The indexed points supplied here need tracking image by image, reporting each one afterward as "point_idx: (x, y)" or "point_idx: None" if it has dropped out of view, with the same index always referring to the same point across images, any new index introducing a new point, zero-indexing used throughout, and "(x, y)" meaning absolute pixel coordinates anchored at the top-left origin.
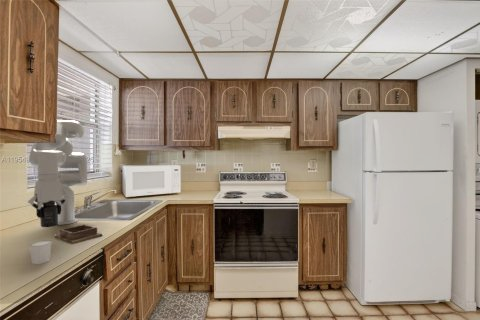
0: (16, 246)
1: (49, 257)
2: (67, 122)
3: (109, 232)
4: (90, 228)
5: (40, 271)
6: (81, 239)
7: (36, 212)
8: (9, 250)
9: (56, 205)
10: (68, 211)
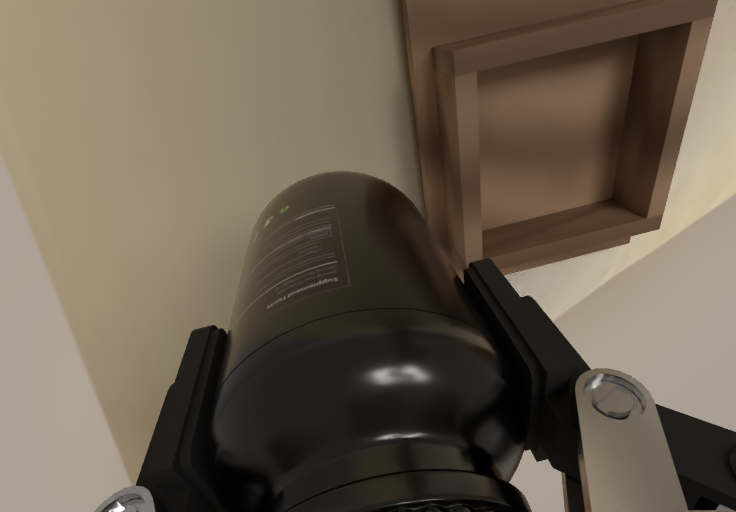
0: (66, 60)
1: None
2: None
3: (697, 186)
4: (646, 160)
5: None
6: None
7: (155, 429)
8: (39, 156)
9: (510, 479)
10: None
